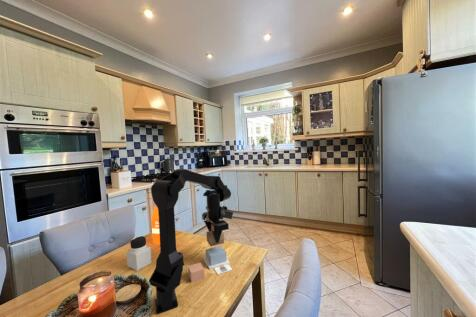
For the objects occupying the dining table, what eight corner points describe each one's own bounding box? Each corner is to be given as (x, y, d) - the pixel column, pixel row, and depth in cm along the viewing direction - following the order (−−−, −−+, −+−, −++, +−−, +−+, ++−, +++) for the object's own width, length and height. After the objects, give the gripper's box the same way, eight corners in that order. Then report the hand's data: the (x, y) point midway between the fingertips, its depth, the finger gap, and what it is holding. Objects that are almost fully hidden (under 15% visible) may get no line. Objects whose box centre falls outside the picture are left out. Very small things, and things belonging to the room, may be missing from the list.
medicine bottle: (152, 262, 90) (150, 236, 90) (137, 271, 84) (135, 243, 84) (142, 258, 94) (140, 233, 94) (127, 266, 88) (125, 239, 87)
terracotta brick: (204, 278, 78) (204, 268, 78) (191, 283, 75) (191, 272, 75) (200, 272, 82) (200, 262, 82) (188, 276, 80) (187, 266, 80)
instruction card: (232, 269, 82) (232, 268, 82) (217, 274, 80) (217, 273, 80) (228, 264, 86) (228, 263, 86) (214, 268, 84) (214, 267, 84)
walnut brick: (224, 243, 87) (223, 234, 87) (210, 246, 85) (210, 237, 85) (219, 237, 93) (219, 229, 92) (206, 240, 90) (206, 232, 90)
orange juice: (167, 245, 107) (165, 207, 106) (152, 244, 109) (150, 207, 108) (175, 238, 114) (173, 203, 113) (161, 237, 116) (159, 203, 115)
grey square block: (229, 263, 87) (229, 252, 87) (209, 269, 83) (209, 258, 83) (222, 254, 95) (221, 244, 95) (203, 259, 91) (203, 248, 91)
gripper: (239, 206, 83) (241, 244, 84) (223, 197, 100) (224, 228, 101) (213, 211, 78) (215, 250, 79) (200, 201, 95) (202, 233, 96)
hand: (215, 239), depth 89 cm, fingers closed on walnut brick, 6 cm apart
